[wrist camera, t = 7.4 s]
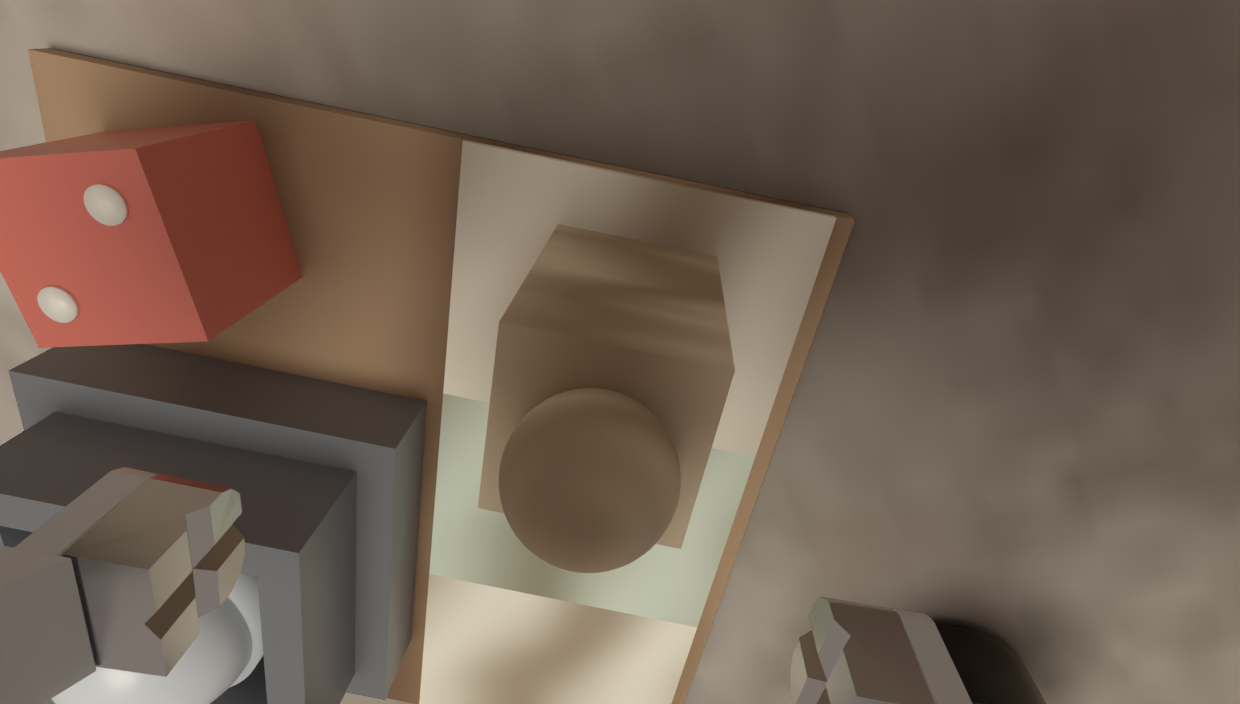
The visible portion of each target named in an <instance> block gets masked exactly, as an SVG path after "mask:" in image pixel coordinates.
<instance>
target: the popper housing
mask: <svg viewBox="0 0 1240 704" xmlns="http://www.w3.org/2000/svg"><path fill="white" fill-rule="evenodd" d="M9 374H10V378H11V382H12V385H13V389H14V393H15V397H16V401H17V405H18V408H19V412H20V416H21V420H22V424H23V428H24V431H23V432H22V433H20V434H18V435H17V436H15V437H14V438H12V439H10V440H9V441H7V442H6V443H4V444H2V445H1V446H0V546H7V547H13V548H14V547H16V546H17V545H18V544H19V543H21V542H22V541H23V540H24V539H26V538H27V537H28V536H29V535H31V534H32V533H33V532H35V531H36V530H37V529H38V528H40V527H41V526H42V525H43V524H45V523H46V522H47V521H48V520H50V519H51V518H52V517H53V516H55V515H56V514H57V513H58V512H60V511H61V510H62V509H63V508H65V507H66V506H67V505H68V504H70V503H71V502H72V501H73V500H75V499H76V498H77V497H78V496H80V495H81V494H82V493H84V492H85V491H86V490H87V489H89V488H90V487H91V486H92V485H94V484H95V483H96V482H97V481H99V480H100V479H101V478H102V477H104V476H105V475H106V474H107V473H109V472H110V471H112V470H115V469H119V468H123V467H127V468H132V469H136V470H141V471H145V472H150V473H155V474H159V475H160V474H164V475H169V476H174V477H179V478H183V479H188V480H193V481H198V482H203V483H207V484H212V485H217V486H222V487H227V488H231V489H233V490H235V491H237V492H238V493H240V499H241V507H242V513H241V515H240V516H239V517H238V518H237V519H236V520H235V522H234V523H233V525H234V526H235V527H236V528H237V530H238V531H239V532H240V533H241V534H242V536H243V537H244V543H245V554H244V560H243V566H242V570H241V572H240V574H245V575H250V576H255V577H257V582H258V594H259V607H260V619H261V631H262V644H263V656H262V658H261V659H260V661H259V662H258V664H257V665H256V667H255V668H254V670H253V671H252V672H251V674H250V675H249V676H248V677H247V678H245V679H244V680H243V681H241V682H240V683H238V684H237V685H234V686H232V687H229V688H228V689H227V690H226V691H225V692H224V693H223V694H221V695H220V696H219V697H218V698H217V699H215V700H214V701H213V702H212V703H210V704H340V702H341V700H342V698H343V696H344V694H345V692H347V693H352V694H357V695H362V696H367V697H373V698H378V699H383V700H385V699H386V697H387V695H388V692H389V690H390V688H391V685H392V683H393V681H394V678H395V676H396V674H397V672H398V669H399V667H400V665H401V662H402V660H403V658H404V655H405V653H406V651H407V648H408V646H409V644H410V642H411V639H412V627H413V611H414V596H415V580H416V565H417V550H418V534H419V519H420V503H421V488H422V473H423V457H424V442H425V427H426V411H427V401H424V400H419V399H414V398H409V397H404V396H399V395H394V394H389V393H384V392H379V391H374V390H369V389H364V388H359V387H354V386H350V385H345V384H340V383H335V382H330V381H325V380H320V379H315V378H310V377H305V376H300V375H295V374H290V373H285V372H280V371H275V370H271V369H266V368H261V367H256V366H251V365H246V364H241V363H236V362H231V361H226V360H221V359H216V358H211V357H206V356H201V355H196V354H192V353H187V352H182V351H177V350H172V349H167V348H162V347H157V346H152V345H147V344H125V345H99V346H72V347H53V348H51V349H49V350H47V351H46V352H44V353H42V354H40V355H38V356H36V357H34V358H32V359H30V360H28V361H26V362H24V363H23V364H21V365H19V366H17V367H15V368H13V369H11V370H9ZM43 704H55V703H54V702H53V701H52V699H50V700H48V701H46V702H45V703H43Z"/></svg>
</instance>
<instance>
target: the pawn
mask: <svg viewBox="0 0 1240 704" xmlns="http://www.w3.org/2000/svg"><path fill="white" fill-rule="evenodd" d="M734 372H735V367H734V361H733V354H732V348H731V341H730V335H729V329H728V322H727V316H726V309H725V303H724V296H723V290H722V284H721V277H720V271H719V264H718V258H717V257H716V256H711V255H706V254H702V253H697V252H692V251H687V250H682V249H677V248H672V247H668V246H663V245H658V244H653V243H648V242H643V241H638V240H634V239H629V238H624V237H619V236H614V235H609V234H604V233H600V232H595V231H590V230H585V229H580V228H575V227H570V226H566V225H561V224H558V225H557V226H556V228H555V230H554V231H553V233H552V235H551V236H550V238H549V240H548V241H547V243H546V245H545V246H544V248H543V250H542V251H541V253H540V255H539V256H538V258H537V260H536V261H535V263H534V265H533V266H532V268H531V270H530V271H529V273H528V275H527V276H526V278H525V280H524V281H523V283H522V285H521V286H520V288H519V290H518V291H517V293H516V295H515V296H514V298H513V300H512V301H511V303H510V305H509V306H508V308H507V310H506V311H505V313H504V315H503V316H502V318H501V320H500V321H499V326H498V335H497V344H496V352H495V361H494V370H493V378H492V387H491V396H490V405H489V413H488V422H487V431H486V439H485V448H484V457H483V466H482V474H481V483H480V492H479V500H478V508H479V509H484V510H489V511H494V512H499V513H504V514H505V516H506V519H507V521H508V523H509V525H510V527H511V529H512V530H513V532H514V533H515V535H516V536H517V537H518V539H519V540H520V541H521V542H522V544H523V545H524V546H525V547H526V548H527V549H528V550H529V551H531V552H532V553H533V554H535V555H536V556H537V557H539V558H540V559H542V560H543V561H545V562H547V563H549V564H551V565H553V566H555V567H558V568H560V569H563V570H567V571H571V572H578V573H600V572H606V571H610V570H614V569H618V568H620V567H623V566H625V565H628V564H630V563H631V562H633V561H635V560H637V559H638V558H640V557H641V556H642V555H644V554H645V553H647V552H648V551H649V550H650V549H651V548H652V547H653V546H654V545H655V544H659V545H664V546H668V547H673V548H678V549H681V548H682V544H683V541H684V538H685V534H686V531H687V528H688V525H689V521H690V518H691V515H692V511H693V508H694V505H695V501H696V498H697V495H698V491H699V488H700V485H701V481H702V478H703V475H704V471H705V468H706V465H707V462H708V458H709V455H710V452H711V448H712V445H713V442H714V438H715V435H716V432H717V428H718V425H719V422H720V418H721V415H722V412H723V408H724V405H725V402H726V399H727V395H728V392H729V389H730V385H731V382H732V379H733V375H734Z"/></svg>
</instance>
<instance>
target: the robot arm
mask: <svg viewBox="0 0 1240 704" xmlns="http://www.w3.org/2000/svg"><path fill="white" fill-rule="evenodd" d="M241 513H242V507H241V499H240V493H238V492H237V491H235V490H233V489H231V488H227V487H222V486H217V485H212V484H207V483H203V482H198V481H193V480H188V479H183V478H179V477H174V476H169V475H164V474H160V475H159V474H155V473H150V472H145V471H141V470H136V469H132V468H127V467H123V468H119V469H115V470H112V471H110V472H109V473H107V474H106V475H105V476H104V477H102V478H101V479H100V480H99V481H97V482H96V483H95V484H94V485H92V486H91V487H90V488H89V489H87V490H86V491H85V492H84V493H82V494H81V495H80V496H78V497H77V498H76V499H75V500H73V501H72V502H71V503H70V504H68V505H67V506H66V507H65V508H63V509H62V510H61V511H60V512H58V513H57V514H56V515H55V516H53V517H52V518H51V519H50V520H48V521H47V522H46V523H45V524H43V525H42V526H41V527H40V528H38V529H37V530H36V531H35V532H33V533H32V534H31V535H29V536H28V537H27V538H26V539H24V540H23V541H22V542H21V543H19V544H18V545H17V546H16V547H14V548H13V547H7V546H0V704H43V703H45V702H46V701H48V700H50V699H51V698H53V697H55V696H56V695H58V694H59V693H61V692H63V691H64V690H66V689H68V688H69V687H71V686H73V685H74V684H76V683H77V682H79V681H81V680H82V679H84V678H86V677H87V676H89V675H90V674H92V673H94V672H95V671H96V670H97V669H96V667H101V668H108V669H115V670H122V671H129V672H136V673H143V674H150V675H157V676H164V677H167V675H168V674H169V673H170V671H171V670H172V669H173V668H174V666H175V665H176V664H177V662H178V661H179V660H180V659H181V657H182V656H183V655H184V653H185V652H186V651H187V649H188V648H189V647H190V646H191V644H192V643H193V642H194V640H195V639H196V638H197V636H198V635H199V634H200V632H199V621H198V618H199V617H201V616H203V615H205V614H207V613H209V612H211V611H213V610H215V609H216V608H218V607H220V606H221V605H222V604H223V602H224V601H225V599H226V598H227V597H228V595H229V594H230V593H231V591H232V590H233V588H234V586H235V583H236V581H237V579H238V577H239V574H240V572H241V570H242V566H243V560H244V554H245V543H244V537H243V536H242V534H241V533H240V532H239V531H238V530H237V528H236V527H235V526H234V525H233V523H234V522H235V520H236V519H237V518H238V517H239V516H240V515H241ZM809 620H810V624H811V628H812V631H810V632H808V633H807V634H805V635H803V636H802V637H800V638H799V639H798V642H797V645H796V647H795V650H794V652H793V655H792V662H791V669H790V691H791V697H792V702H793V704H972V702H971V699H970V697H969V695H968V693H967V691H966V689H965V687H964V684H963V682H962V680H961V678H960V676H959V674H958V672H957V670H956V667H955V665H954V663H953V661H952V659H951V657H950V655H949V653H948V650H947V648H946V646H945V644H944V642H943V640H942V638H941V636H940V633H939V631H938V629H937V627H936V625H935V623H934V621H933V620H932V619H931V618H930V617H929V616H928V615H927V614H922V613H916V612H910V611H904V610H898V609H892V608H891V609H888V608H884V607H878V606H873V605H867V604H861V603H855V602H850V601H844V600H838V599H833V598H827V597H820V598H819V599H818V600H817V601H816V602H815V603H814V605H813V607H812V609H811V612H810V614H809Z"/></svg>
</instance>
